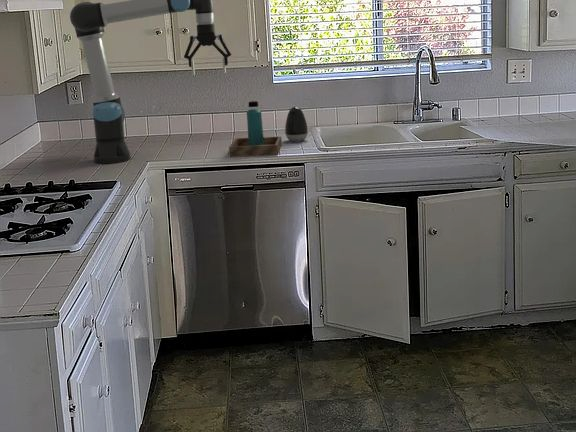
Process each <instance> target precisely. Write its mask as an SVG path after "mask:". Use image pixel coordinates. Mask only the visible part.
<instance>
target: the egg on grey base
mask: <svg viewBox="0 0 576 432" xmlns="http://www.w3.org/2000/svg"><path fill="white" fill-rule="evenodd" d="M308 133H309V128H308V123H307V120H306V117H305V114H304V112H303V110H302V109H301V108H300V107H299V106H292V107H291V108H290V109H289V111H288V113H287V116H286V120H285V126H284V134H285V135H286V138H287V140H288V141H290V142H293V143H298V142H299V143H300V142H303V141H304V140H306V139H307V137H308Z"/></svg>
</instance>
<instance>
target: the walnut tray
mask: <svg viewBox="0 0 576 432" xmlns="http://www.w3.org/2000/svg"><path fill="white" fill-rule="evenodd" d="M263 142H264V144H263V145H255V146H249V139H248V137H236V138H234V140H233V141H232V143H230V146H228V148H229V157H230V158H231V157H253V156H256V157H258V156H276V155H277V156H278V155H279V153H280V150H281V149H282V145H283V142H282V136H263Z"/></svg>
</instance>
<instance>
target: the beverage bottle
mask: <svg viewBox="0 0 576 432" xmlns="http://www.w3.org/2000/svg"><path fill="white" fill-rule="evenodd" d="M248 107H249V108H251V109H248V110H247V111H246V121H247V133H248V134H247V136H248V137H247V138H248V139H249V146H255V145H263V144H264V142H263V137H264V129H263V120H262V116H263V115H262V111H261V110H260V109H259V108H257V107H259V102H258V101H257V100H253V101H248Z"/></svg>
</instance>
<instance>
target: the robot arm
mask: <svg viewBox="0 0 576 432" xmlns="http://www.w3.org/2000/svg"><path fill="white" fill-rule="evenodd" d="M213 1H214V0H124V1H118V2H113V3H111V2H110V3H107V4H106V3H103V2H94V3H93V2H90V1H82V2H79V3H77V4H75V5H74V6H73V7H72V9H71V10H70V13H69V14H70V15H69V20H70V23H71V24H72V26H73V27H74V31H75V34H76V38H77V39H78V40H80V41H81V43H82V44H81V45H82V47H83V51H84V52H83V53H84V57H85V61H86V64H87V68H88V69H87V70H88V73H89V77H90V81H91V85H92V89H93V94H94V99H93V100H92V106H93V107H92V117H93V123H94V134H95V135H94V136H95V142H96V143H95V148H94V152H93V162H94V163H95V164H96V163H97V164H115V163H116V164H117V163H122V162H126V161H129V160H131V158H132V157H131V153H130V150H129V147H128V146H127V143H126V141H125V133H124V121H125V119H126V118H125V117H126V116H125V110H124V108H123V106H122V100H121V97H120V95H118V94H117V93H116V91H115V88H114V83H113V79H112V75H111V70H110V66H109V65H110V64H109V61H108V57H107V52H106V49H105V44H104V40H103V36H104V35H105V33H106V32H105V28H104V27H107V26H108V24H113V23H120V22H126V21H131V20H137V19H142V18H143V19H144V18H151V17H155V16H161V15H166V14H174V13H183V12H186V11H191V10H192V11H195V20H196V21H195V22H196V35H195V36H194V35H191V36H190V37H189V43H188V45H187V48H186V50H185V53H184V55H183V58H184V59H187V60H188V66H189V68H191V76H195V75H196V72H195V71H196V70H195V59H194V58H193V57H195V54H196V53H197V52H198V50H200V48H201V46H202V47H206V46H208V47H210V46H213V47H214V48H215V49H216V50H217V51H218V52H219V54H221V56H223V57H222V70H223V73H222V74H224V75H225V74H226V73H227V68H226V67H227V66H228V65H229V59H228V58H229V57H231V56H232V52H231V51H230V49H229V46H228V45H227V44H226V43H227V42H225V40H224V36H223V34H218V35H217V34H216V31H215V29H216V28H215V16H214V15H215V14H214V2H213ZM216 39H217V40H218V41H219V42H220V43H221V45H222V47H223V49H224V50H223V49H222V48H221V47H220V46H219V44H218V43H217V42H216ZM196 40H197V41H198V43H197V45H196V46H195V48H194V49H193V51H191V50H192V47H193V44H194V42H195V41H196ZM190 52H191V53H190Z"/></svg>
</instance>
